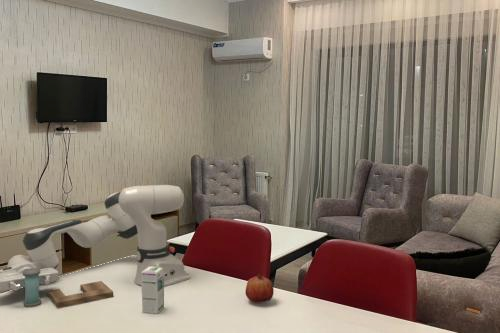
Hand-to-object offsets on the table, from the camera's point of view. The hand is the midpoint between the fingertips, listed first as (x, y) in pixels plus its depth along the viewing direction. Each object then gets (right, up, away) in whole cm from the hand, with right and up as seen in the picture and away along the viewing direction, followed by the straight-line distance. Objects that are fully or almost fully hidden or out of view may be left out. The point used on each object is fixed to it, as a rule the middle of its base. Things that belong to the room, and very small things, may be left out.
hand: (32, 285), depth 163 cm
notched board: (+14, -6, +9) cm, 17 cm away
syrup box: (+43, -8, -2) cm, 43 cm away
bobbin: (-1, -7, +1) cm, 7 cm away
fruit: (+79, -8, +6) cm, 80 cm away
